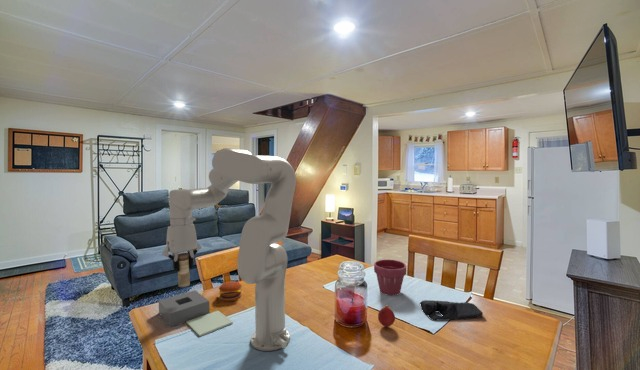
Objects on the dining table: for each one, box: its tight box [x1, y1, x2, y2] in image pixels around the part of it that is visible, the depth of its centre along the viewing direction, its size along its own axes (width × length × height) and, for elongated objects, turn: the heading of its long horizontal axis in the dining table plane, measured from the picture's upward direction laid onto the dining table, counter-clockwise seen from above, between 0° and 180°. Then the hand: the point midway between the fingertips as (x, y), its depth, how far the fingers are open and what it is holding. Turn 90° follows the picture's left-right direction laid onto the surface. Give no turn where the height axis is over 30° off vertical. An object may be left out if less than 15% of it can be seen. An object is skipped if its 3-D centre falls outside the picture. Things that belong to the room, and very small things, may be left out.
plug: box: [177, 252, 191, 288], centre depth 113 cm, size 4×4×12 cm
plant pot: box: [373, 259, 407, 296], centre depth 134 cm, size 14×14×13 cm
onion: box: [377, 304, 396, 328], centre depth 104 cm, size 6×6×8 cm
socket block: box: [158, 289, 210, 328], centre depth 114 cm, size 14×14×5 cm
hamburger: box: [218, 280, 243, 303], centre depth 129 cm, size 9×10×7 cm
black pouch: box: [419, 299, 484, 321], centre depth 116 cm, size 15×22×5 cm
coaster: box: [185, 310, 234, 337], centre depth 107 cm, size 12×12×1 cm
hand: (183, 268), depth 113 cm, fingers closed on plug, 4 cm apart
